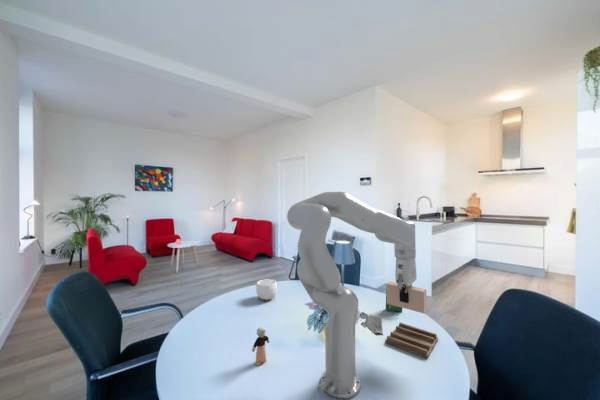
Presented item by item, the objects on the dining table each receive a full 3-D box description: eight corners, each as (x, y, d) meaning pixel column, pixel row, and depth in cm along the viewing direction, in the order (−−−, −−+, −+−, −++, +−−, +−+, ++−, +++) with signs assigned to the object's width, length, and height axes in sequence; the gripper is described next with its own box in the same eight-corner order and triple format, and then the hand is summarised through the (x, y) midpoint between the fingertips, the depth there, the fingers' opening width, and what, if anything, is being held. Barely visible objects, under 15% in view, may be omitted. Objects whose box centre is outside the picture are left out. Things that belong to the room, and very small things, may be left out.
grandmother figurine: (258, 369, 89) (258, 333, 89) (250, 365, 91) (250, 330, 91) (272, 357, 96) (272, 323, 96) (264, 353, 98) (264, 321, 98)
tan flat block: (424, 313, 93) (423, 291, 92) (386, 303, 102) (386, 283, 102) (426, 310, 95) (426, 289, 95) (389, 300, 104) (389, 281, 104)
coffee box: (401, 309, 134) (401, 284, 133) (402, 312, 131) (402, 286, 130) (385, 308, 135) (385, 284, 135) (386, 311, 132) (386, 286, 132)
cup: (276, 302, 144) (276, 285, 144) (254, 303, 144) (254, 286, 144) (278, 294, 156) (278, 278, 156) (258, 294, 156) (258, 278, 156)
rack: (427, 359, 94) (427, 352, 94) (385, 342, 104) (385, 336, 104) (438, 339, 106) (438, 334, 106) (399, 327, 116) (399, 321, 116)
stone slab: (359, 311, 130) (380, 312, 128) (359, 315, 130) (380, 316, 128) (360, 331, 112) (383, 333, 110) (360, 335, 112) (384, 337, 110)
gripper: (407, 259, 89) (408, 311, 90) (421, 250, 101) (422, 295, 102) (386, 256, 94) (387, 305, 95) (402, 247, 106) (403, 291, 107)
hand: (405, 299), depth 99 cm, fingers closed on tan flat block, 3 cm apart
